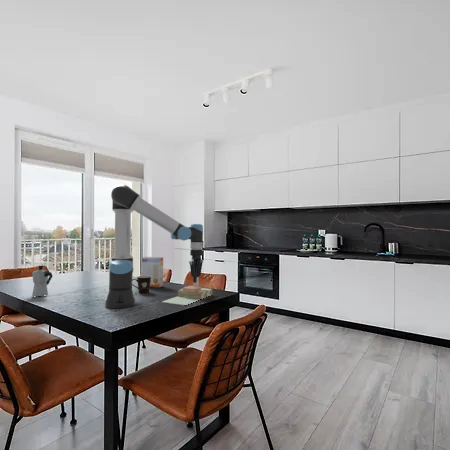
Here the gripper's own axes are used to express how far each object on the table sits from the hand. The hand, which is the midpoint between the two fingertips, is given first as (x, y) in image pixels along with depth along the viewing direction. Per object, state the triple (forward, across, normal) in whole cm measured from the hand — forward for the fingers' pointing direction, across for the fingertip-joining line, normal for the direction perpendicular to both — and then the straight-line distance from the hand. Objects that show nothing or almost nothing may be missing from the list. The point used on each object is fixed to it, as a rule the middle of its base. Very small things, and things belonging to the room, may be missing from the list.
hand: (195, 287), depth 184 cm
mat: (+5, -16, 0) cm, 17 cm away
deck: (+5, -1, 0) cm, 5 cm away
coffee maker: (+6, -44, +80) cm, 92 cm away
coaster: (+1, -5, 0) cm, 5 cm away
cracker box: (+5, +12, +43) cm, 45 cm away
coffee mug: (+5, -8, +36) cm, 37 cm away
